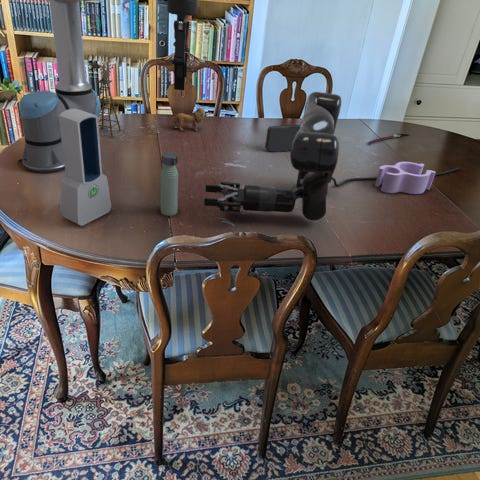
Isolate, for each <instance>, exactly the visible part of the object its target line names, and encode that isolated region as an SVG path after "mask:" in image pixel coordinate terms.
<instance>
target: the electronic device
mask: <svg viewBox="0 0 480 480" xmlns="http://www.w3.org/2000/svg"><path fill="white" fill-rule="evenodd" d="M98 121H99V117H98V116H96V115H94V114H91V113H88V112H85V111H82V110H79V109H69V110H66V111H64V112H62V113H61V114H60V115H59V123H60V131H61V139H62V147H63V156H64V164H65V169H64V171H65V176H64V178H62V180H61V184H60V185H61V187H60V205H59V210H60V213H61V215H62V217H63V218H65V219H66V220H69V221H70V222H72V223H74V224H76V225H78V226H81V227H83V226H85V225H86V224H87V225H88V224H90V223H91V222H92V221H95V220H97V219H98V218H101V217H103V216H104V215H106V214H108V213H110V211H111V210H112V201H111V195H110V188H109V182H108V176H107V175H105V174H104V173H103V167H102V156H101V142H100V126H98V125H99V122H98Z"/></svg>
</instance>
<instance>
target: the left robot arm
mask: <svg viewBox="0 0 480 480" xmlns="http://www.w3.org/2000/svg"><path fill="white" fill-rule="evenodd" d="M48 1H49V3H48V4H49V8H50V18H51V27H52V33H53V43H54V49H55V57H56V65H57V66H56V67H57V73H58V82H57V83H56V84H55V87H54V89H55V92H54V91H51V90H41V91H40V90H37V91H32V92H29V93H26V94H24V95H23V96H22V97H21V98H20V100H19V103H18V104H19V116H20V119H21V125H22V132H23V136H24V148H23V153H22V158H21V159H18V160H17V162H18V163H19V164H20V163H22V166H23V168H24V169H25V170H27V171H29V172H33V173H39V174H46V173H56V172H61V171H63V170H65V164H64V156H63V147H62V139H61V131H60V123H59V115H60V114H61V113H62V112H64V111H66V110H69V109H79V110H82V111H85V112H88V113H91V114H94V115H96V116H98V118H99V117H100V116H99V115H100V114H101V113H100V112H101V111H102V110H101V109H102V107H101V106H102V105H101V101H100V99H101V98H100V99H99V94H98V93H97V92H96V91H95V90H94V89H93V87H92V85H91V83H89V82H88V80H87V75H86V74H87V73H86V63H85V54H84V53H85V51H84V42H83V41H84V40H83V31H82V22H81V21H82V20H81V12H80V1H81V0H48ZM166 5H167V6H166V11H167V13H169V14H171V15H175V16H176V20H174V21H173V30H174V33H173V37H174V58H173V59H171V65H174V69H173V70H174V71H173V90H174V91H175V90H177V91H185V90H186V89H185V85H186V78H187V76H188V75H187V73H188V53H190V51H191V50H190V47H188V46H189V45H188V38H189V31H190V26H191V25H190V21H188V19H189V17H192V16H196V15H197V13H198V0H166Z"/></svg>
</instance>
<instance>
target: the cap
mask: <svg viewBox="0 0 480 480" xmlns="http://www.w3.org/2000/svg"><path fill="white" fill-rule="evenodd" d="M161 164H163V166H164V165H168V166H172V165H175V166H176V165H177V164H178V154H177V153H176V152H174V151H165V152H163V153H162V154H161Z"/></svg>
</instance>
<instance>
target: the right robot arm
mask: <svg viewBox="0 0 480 480" xmlns="http://www.w3.org/2000/svg"><path fill="white" fill-rule="evenodd" d="M341 109H342V97H341V95H339V94H335V93H328V92H322V91H312V92H311V93H309V95H308V97H307V98H306V100H305V104H304V111H303V112H304V113H303V116H302V118H301V119H300V120H301V121H300V123H299V125H300V127H299V131H298V132H297V134H296V136H295V138H294V140H293V143H292V146H291V151H290V152H289V153H290V155H289V157H290V163H291V165H292V167H293V169H295V170H296V171H297V179H296V183H295V187H293V188H284V187H283V188H281V187H272V186H267V185H252V184H245V185H244V187H243V188H240V187H241V184H240V183H239V182H230V181H220V183H219V184H205V192H206V193H212V194H213V193H214V194H215V193H216V194H217V193H218V194H221V195H222V196H223V197H220V198H213V197H205V198H204V199H203V205H204V206H205V207H217V208H218V209H219V212H223V213H224V212H226V213H240V212H241V209H242V210H243V211H247V212H262V213H263V212H264V213H266V212H267V213H268V212H275V213H277V212H278V213H291V212H293V211H294V209H295V206H296V202H297V200H298V199H301V203H302V204H301V213H302V215H303V217H304V218H306V219H307V220H309V221H319V220H321V219H323V218H324V217H325V215H326V213H327V194H328V191H329V190H328V188H329V184H330V183H332V181H333V184H334V186H335V187H341V186H344V185H345V184H346V183H348V182H352V181H374V180H375V181H376V180H377V177H378V176H377V177H352V178H348V179H345V180H343V181H342V182H341V183H337V180H336V179H335V177H334V176H333V175H334V173H335V170H336V168H337V165H338V160H339V154H340V153H339V152H340V141H339V139H338V137H337V135H335V132H336V128H337V123H338V120H339V116H340V113H341ZM460 169H461V167H456V169H455V168H453V169H449V170H446V171H441V172H437V173H435V176H434V177H436V176H442V175H445V174H449V173H452V172H455V171H458V170H460Z"/></svg>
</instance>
